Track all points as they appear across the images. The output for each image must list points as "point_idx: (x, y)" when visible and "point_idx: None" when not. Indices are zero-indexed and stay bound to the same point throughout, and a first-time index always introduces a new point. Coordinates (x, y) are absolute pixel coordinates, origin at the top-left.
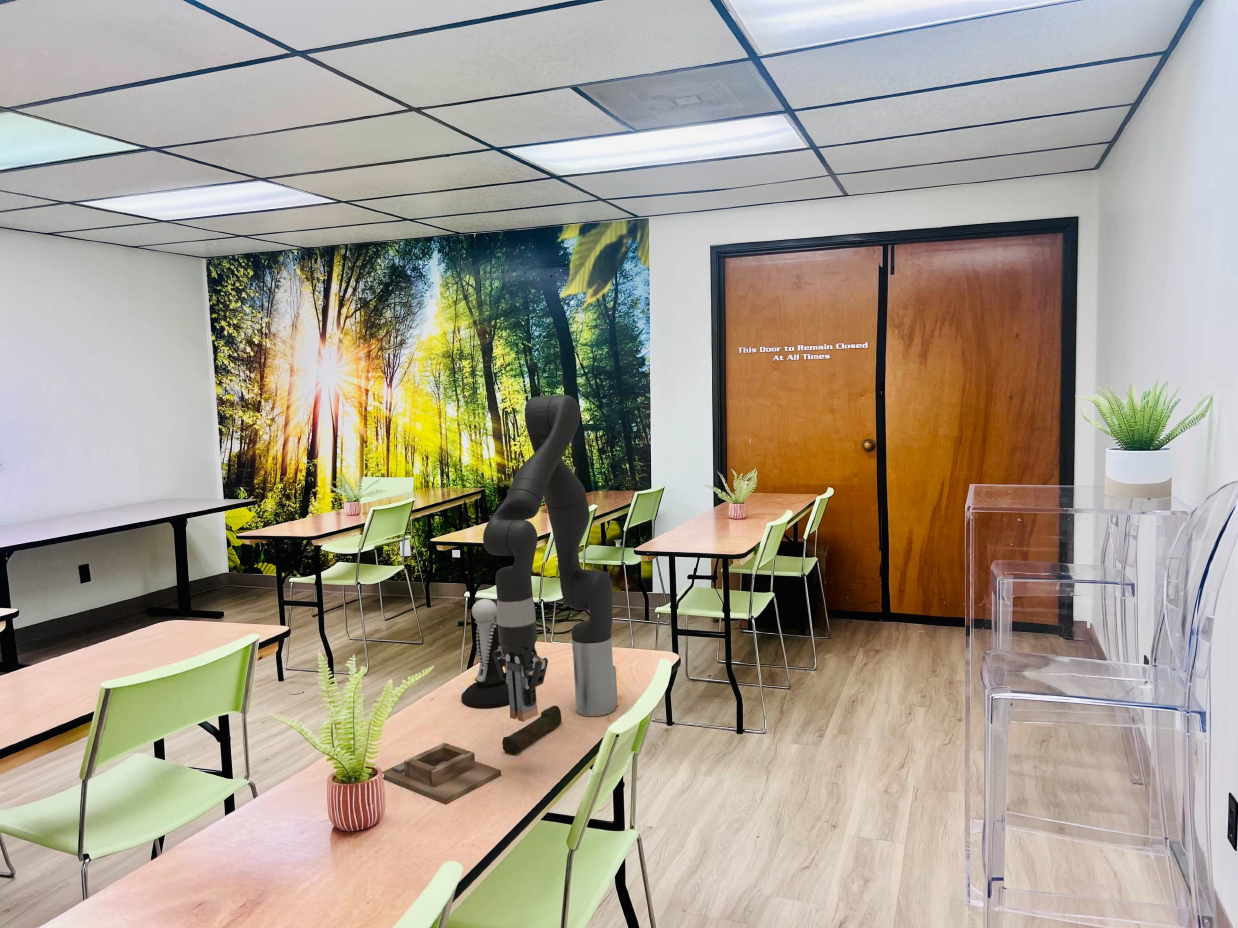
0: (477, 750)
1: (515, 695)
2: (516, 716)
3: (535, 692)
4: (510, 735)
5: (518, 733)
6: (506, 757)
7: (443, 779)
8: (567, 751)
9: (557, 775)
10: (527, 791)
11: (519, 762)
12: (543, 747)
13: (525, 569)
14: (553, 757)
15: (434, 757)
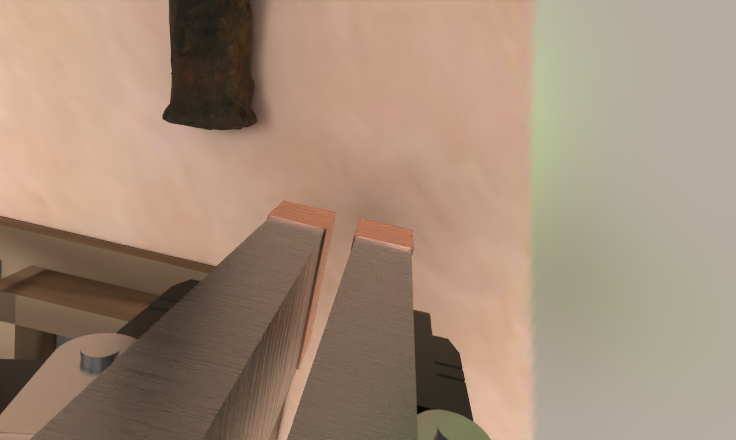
0: (83, 139)
1: (267, 435)
2: (308, 338)
3: (466, 405)
4: (177, 83)
5: (203, 55)
6: (233, 155)
7: None
8: (450, 6)
9: (514, 226)
10: (466, 362)
11: (309, 177)
12: (323, 8)
13: None
14: (419, 86)
15: (34, 353)
